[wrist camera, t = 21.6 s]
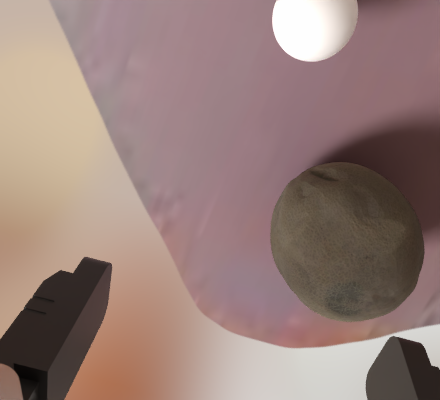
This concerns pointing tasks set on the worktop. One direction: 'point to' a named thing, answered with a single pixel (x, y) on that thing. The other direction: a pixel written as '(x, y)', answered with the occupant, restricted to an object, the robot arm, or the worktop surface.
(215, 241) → the worktop surface
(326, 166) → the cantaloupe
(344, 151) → the worktop surface
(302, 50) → the lightbulb
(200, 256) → the worktop surface
